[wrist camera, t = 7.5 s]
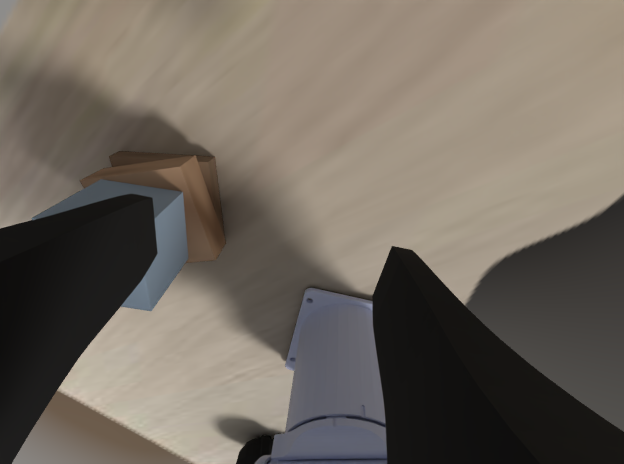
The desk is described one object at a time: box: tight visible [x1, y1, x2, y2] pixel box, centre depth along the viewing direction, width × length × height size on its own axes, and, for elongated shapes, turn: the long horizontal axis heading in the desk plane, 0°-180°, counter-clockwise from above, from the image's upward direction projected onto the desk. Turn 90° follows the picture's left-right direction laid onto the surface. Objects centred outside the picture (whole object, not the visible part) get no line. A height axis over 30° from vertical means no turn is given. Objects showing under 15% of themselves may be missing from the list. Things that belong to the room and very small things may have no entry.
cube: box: [32, 179, 188, 311], centre depth 16 cm, size 4×4×4 cm
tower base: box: [109, 151, 225, 238], centre depth 21 cm, size 6×6×2 cm
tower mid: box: [80, 155, 226, 263], centre depth 19 cm, size 6×6×2 cm
